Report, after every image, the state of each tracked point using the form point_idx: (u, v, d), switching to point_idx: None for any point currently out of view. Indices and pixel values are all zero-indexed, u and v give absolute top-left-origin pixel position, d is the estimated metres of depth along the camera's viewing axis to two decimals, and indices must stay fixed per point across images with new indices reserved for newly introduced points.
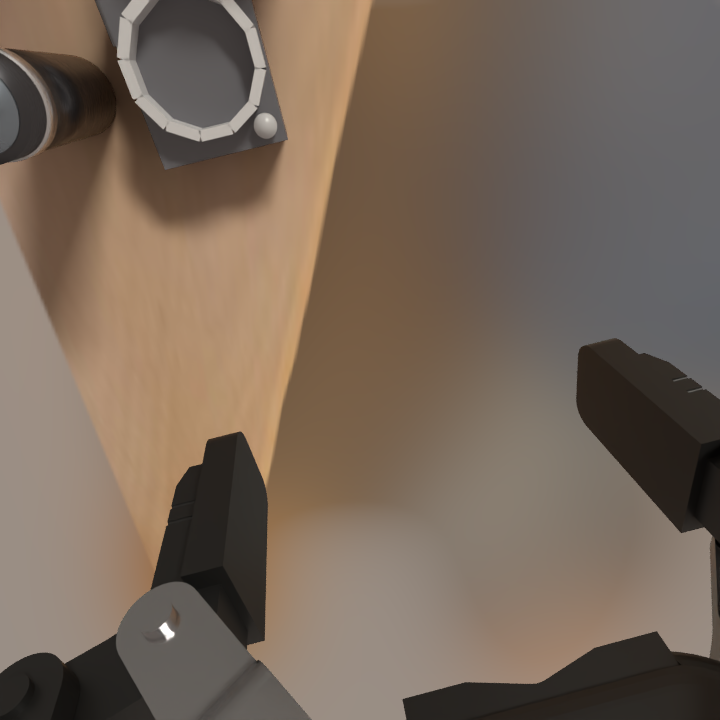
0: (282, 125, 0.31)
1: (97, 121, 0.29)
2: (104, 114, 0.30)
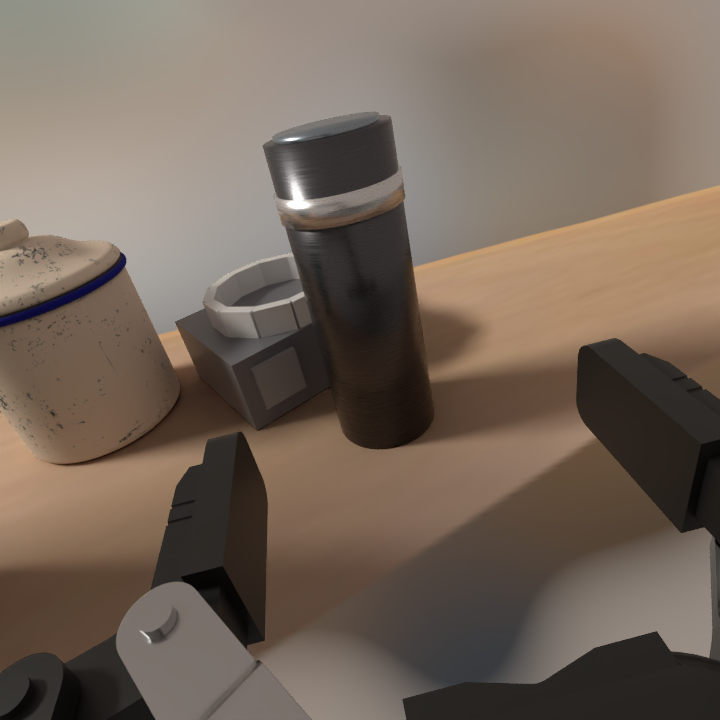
0: None
1: None
2: None
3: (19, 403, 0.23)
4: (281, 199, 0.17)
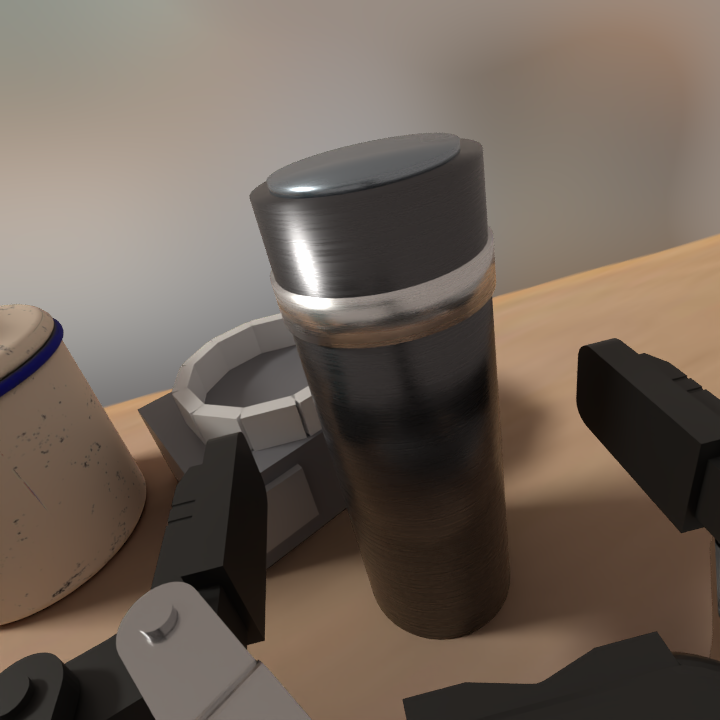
0: None
1: None
2: None
3: None
4: (284, 291, 0.10)
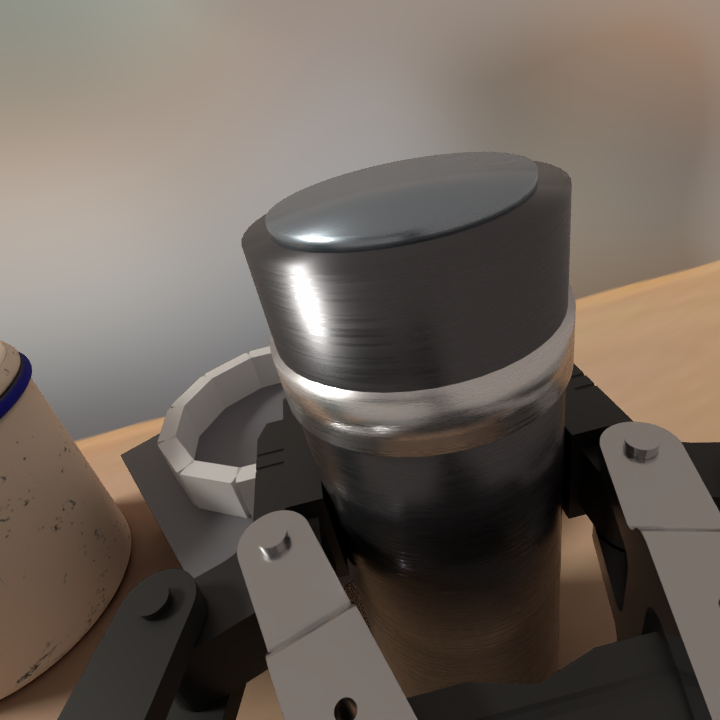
0: None
1: None
2: None
3: None
4: (289, 371, 0.07)
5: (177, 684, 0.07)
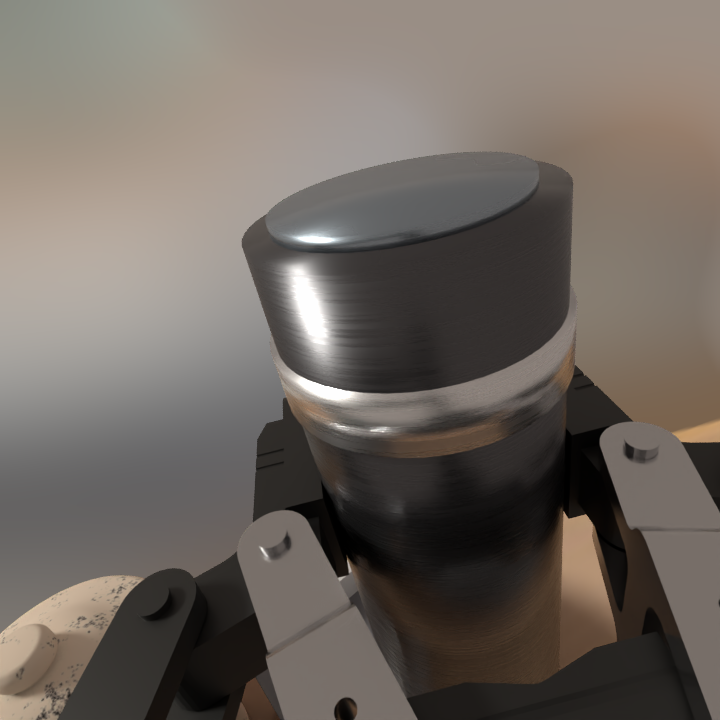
0: None
1: None
2: None
3: None
4: (290, 372, 0.07)
5: (177, 684, 0.07)
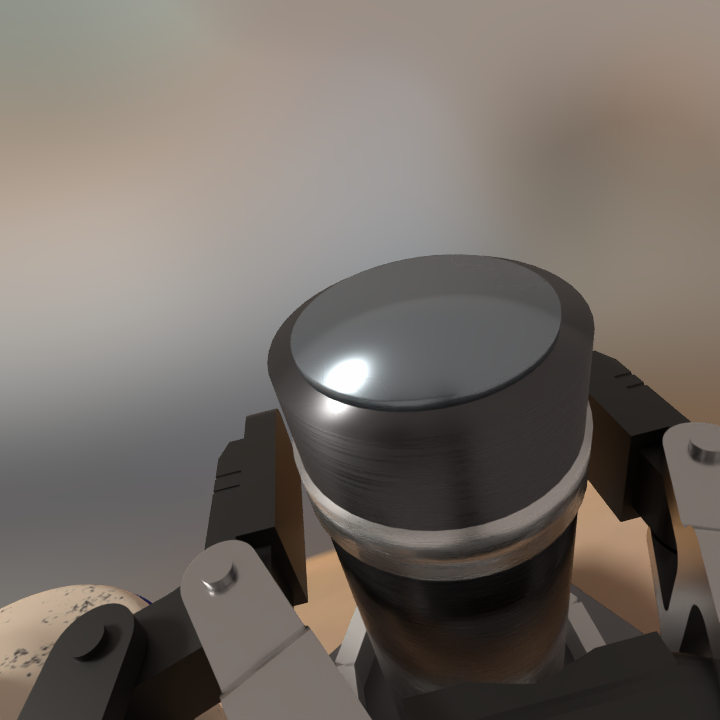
0: None
1: None
2: None
3: None
4: (315, 491, 0.07)
5: None
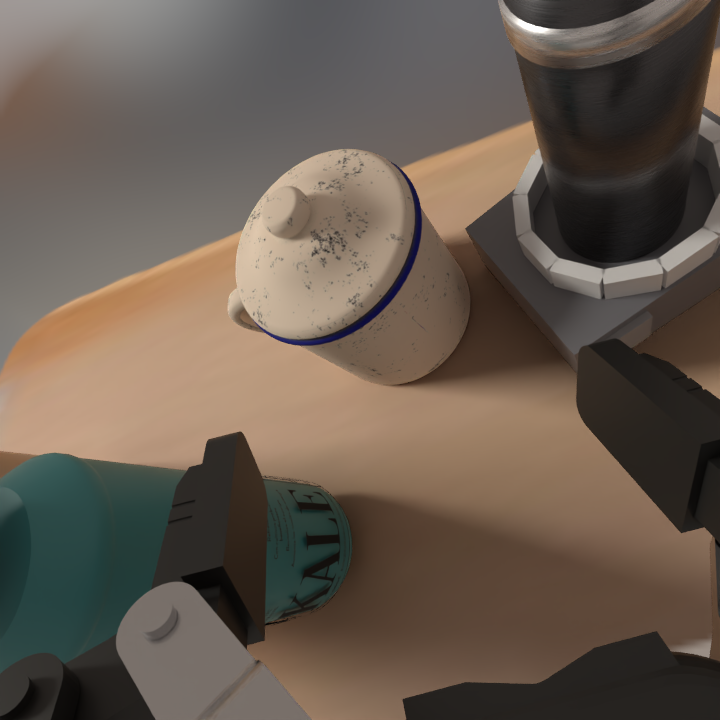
0: None
1: None
2: None
3: (343, 365, 0.24)
4: (513, 16, 0.11)
5: None
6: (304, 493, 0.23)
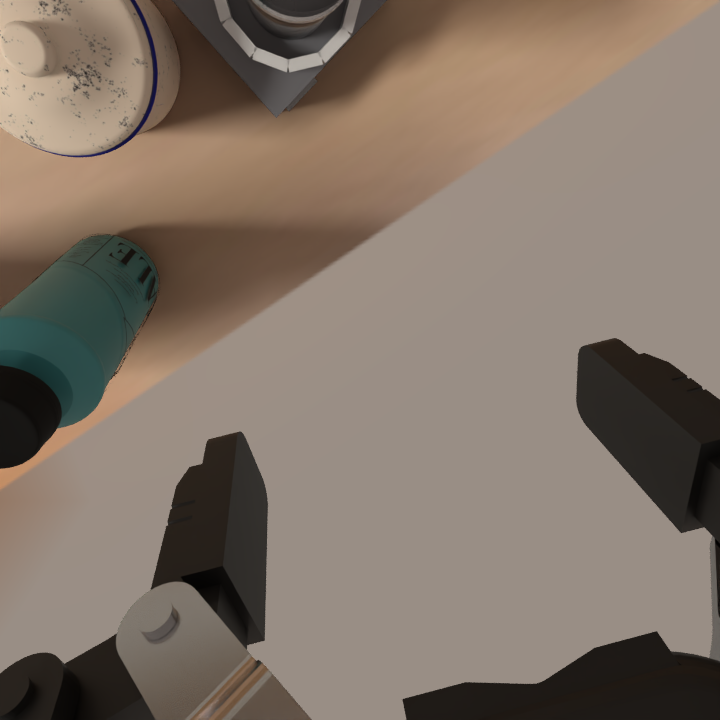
0: None
1: None
2: None
3: None
4: None
5: None
6: (114, 249, 0.31)
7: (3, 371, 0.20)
